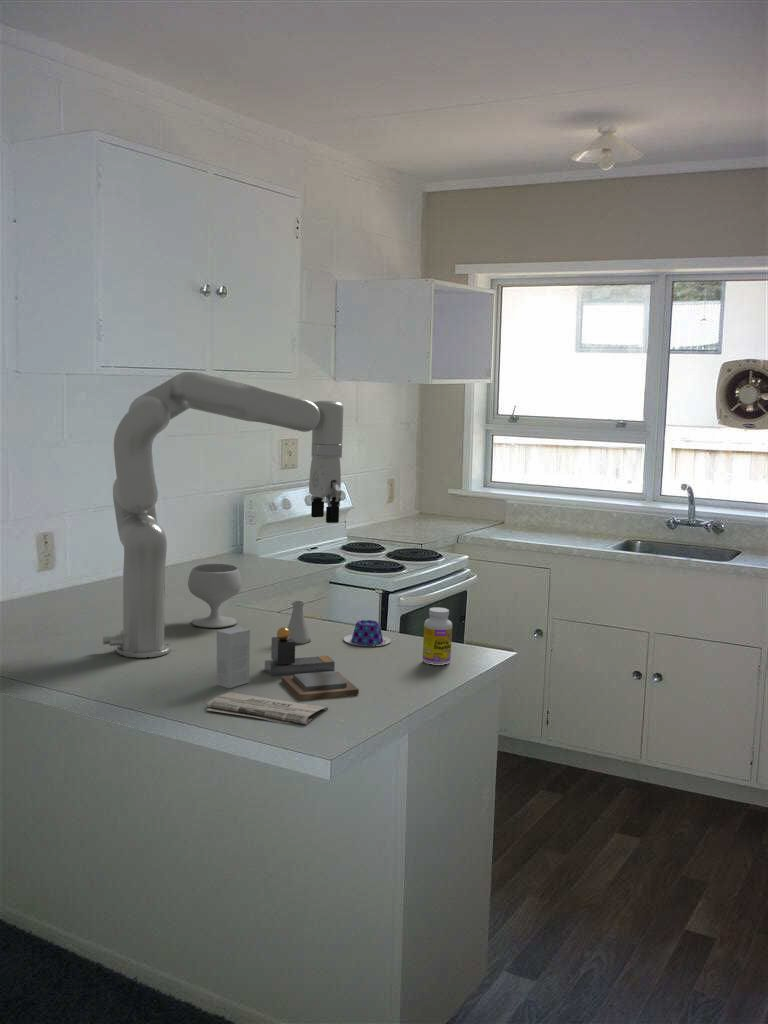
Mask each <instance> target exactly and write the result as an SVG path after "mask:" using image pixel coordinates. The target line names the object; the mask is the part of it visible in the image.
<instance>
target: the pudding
mask: <svg viewBox="0 0 768 1024" xmlns="http://www.w3.org/2000/svg"><path fill="white" fill-rule="evenodd" d="M381 629H382V628H381V625H380V623H379V622H378V621H376V620H371V619H361V620H357V622H356V623H355V627H354V630H353V633H352V634H348V635H346V636H344V637H343V641H344V642H346V643H348V644H351V645H353V646H354V645H355V646H361V647H365V646H367V645H372V646H375V645H374V644H379V645H376V646H375V647H378V646H379V647H380V646H381V645H380V644H383V643H384V641H383V639H384V640H386V643H385V644H383V645H382V646H384V645H388V644H389V643H391V638H390V637H387V636H386V635H383V634H382V630H381ZM381 642H382V643H381ZM356 643H357V644H356Z"/></svg>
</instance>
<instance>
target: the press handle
mask: <svg viewBox="0 0 768 1024" xmlns="http://www.w3.org/2000/svg"><path fill="white" fill-rule="evenodd" d="M270 651H271V652H270V653H271V654H270V656H271V657H270V658H271V659H270V660H273V661H274V662H275V663H276V664H277V665H278V664H291V663H295V658H296V643H295V641H294V640H292V639H291V638H290V631H289V629H287V627H284V626H283V627H280V628H278V630H277V631H276V636H271V649H270Z"/></svg>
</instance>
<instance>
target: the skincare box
mask: <svg viewBox="0 0 768 1024" xmlns="http://www.w3.org/2000/svg"><path fill="white" fill-rule="evenodd" d="M250 637H251V629H250V628H246V627H242V626H238V625H236V626H235V625H234V626H233V627H232V626H230V627H226V628H223V629H218V630H216V685H217V686H220V687H224V688H226V689H232V688H235V687H240V686H242V685H245V684H248V683H249V684H250V670H251V669H250V660H251V659H250V658H251V656H250V655H251V654H250V650H251V649H250V646H251V643H250V642H251V641H250V640H251V639H250Z"/></svg>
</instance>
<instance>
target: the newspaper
mask: <svg viewBox="0 0 768 1024" xmlns="http://www.w3.org/2000/svg"><path fill="white" fill-rule="evenodd" d="M206 707H207V709H205V711H209V712H216V713H217V712H218V713H222V714H229V715H237V716H244V717H249V718H250V717H251V718H256V719H261V720H265V721H270V722H274V723H279V724H290V725H291V724H292V723H296V724H302V725H308V724H309V723H310V722H312V721H313V718H311V719H309V717H311V716H312V715H314V714H315V713H317V712H319V711H321V710H322V711H328V709H329V708H328V707H326V706H320V705H314V704H309V703H303V702H302V703H300V702H294V701H287V700H282V699H276V698H275V699H274V698H271V697H263V696H256V695H249V694H243V693H237V692H227V693H224V694H221V695H218V696H216V697H215V698H213V699H210V700H209V701H208V702H207V703H206ZM311 720H312V721H311ZM290 721H292V722H290ZM292 725H293V724H292Z"/></svg>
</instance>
